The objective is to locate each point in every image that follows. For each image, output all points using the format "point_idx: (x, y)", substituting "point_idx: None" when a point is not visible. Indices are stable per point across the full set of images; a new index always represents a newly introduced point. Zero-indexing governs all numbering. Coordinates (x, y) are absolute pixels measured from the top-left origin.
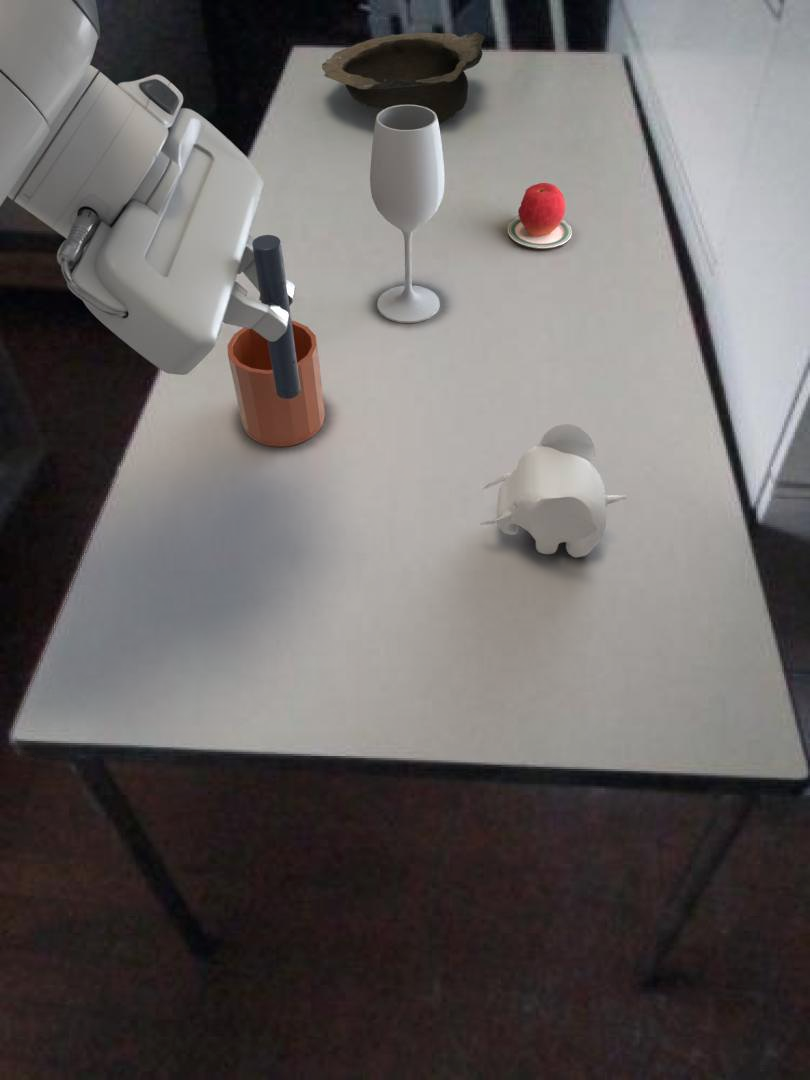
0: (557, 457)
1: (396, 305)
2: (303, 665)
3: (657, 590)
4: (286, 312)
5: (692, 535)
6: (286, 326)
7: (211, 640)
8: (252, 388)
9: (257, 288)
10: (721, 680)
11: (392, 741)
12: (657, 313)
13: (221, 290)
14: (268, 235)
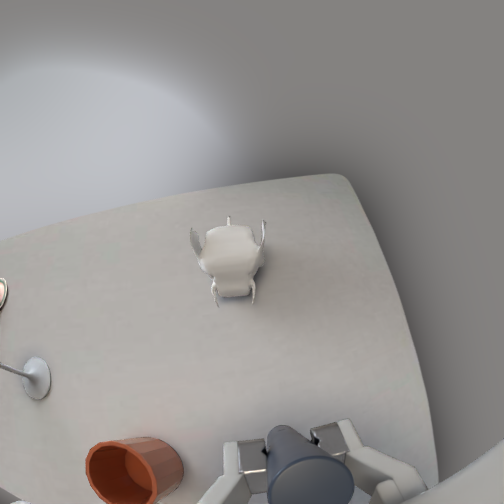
0: (212, 244)
1: (38, 385)
2: (375, 390)
3: (267, 216)
4: (317, 431)
5: (225, 204)
6: (346, 419)
7: None
8: (164, 490)
9: (247, 500)
10: (313, 192)
11: (402, 325)
12: (60, 232)
13: (490, 469)
14: (277, 499)
